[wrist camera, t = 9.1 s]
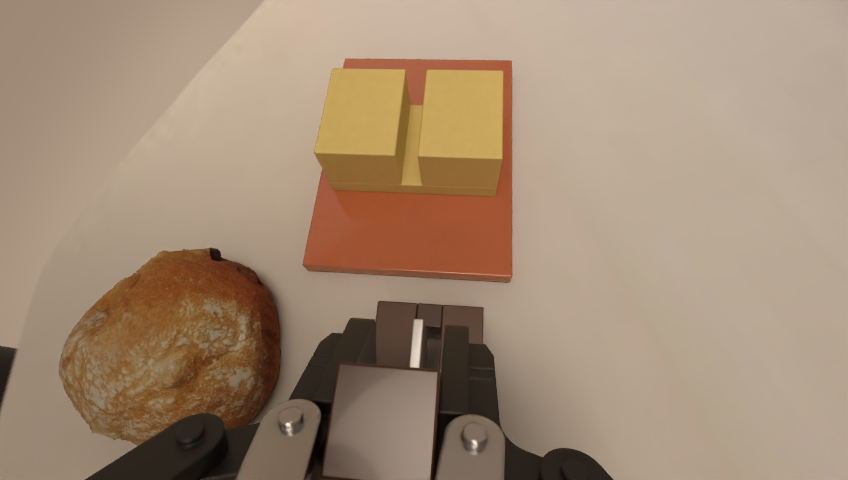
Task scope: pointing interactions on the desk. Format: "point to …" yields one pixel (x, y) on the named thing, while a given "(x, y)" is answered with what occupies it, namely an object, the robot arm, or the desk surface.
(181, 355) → the bread roll
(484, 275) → the butter dish
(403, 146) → the butter
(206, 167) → the desk surface
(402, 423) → the knife
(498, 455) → the robot arm
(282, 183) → the desk surface
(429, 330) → the brown slotted slab
